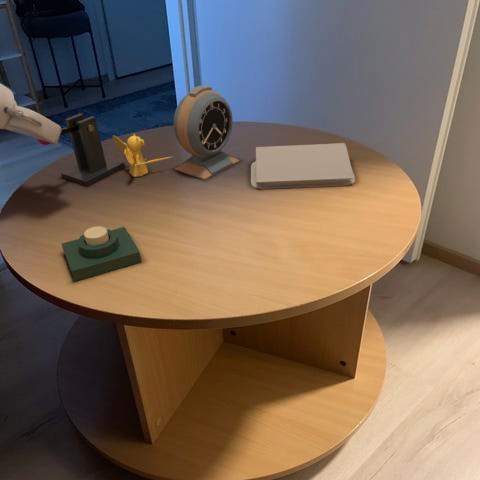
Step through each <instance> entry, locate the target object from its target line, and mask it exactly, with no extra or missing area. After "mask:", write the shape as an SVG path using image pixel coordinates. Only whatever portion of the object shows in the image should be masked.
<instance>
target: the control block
mask: <svg viewBox="0 0 480 480" xmlns="http://www.w3.org/2000/svg"><path fill="white" fill-rule="evenodd" d="M106 229H107V232H108V236H109V241H108V242H106V243H105V244H102V245H98V246H89V245H87V243H86V240H85V236H84V233H83V234H82V235H80V236H79V238H77V239H73V240H69V241H66V242H61V247H62V250H63V254H64V256H65V258H66V261H67V264H68V266H69V269H70V272H71V274H72V277H73V280H74V282H78V281H80V280H84V279H88V278H92V277H94V276H98V275H102V274H104V273H108V272H111V271H115V270H118V269H122V268H125V267H129V266H132V265H135V264H139V263H142V261H143V260H142V256H141V253H140V250H139V248H138V247H137V245H136V243H135V241H134V240H133V238H132V236H131V235H130V233H129V231H128V230H127V228H126V226H123V227H118V228H114V229H110V228H106Z"/></svg>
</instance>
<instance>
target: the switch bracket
mask: <svg viewBox="0 0 480 480" xmlns="http://www.w3.org/2000/svg"><path fill="white" fill-rule="evenodd" d="M80 119H84V120H82V121H79V122H77V124H78V128H79V132H80V133H77V132H75V131H74V132H70V133H68V134H69V137H70V141H71V145H72V148H73V153H74V156H75V160H76V165H75V166H73V167H71V168H68V169H67V170H64V171H61V172H60V175H61V178H62V179H65V180H67V181H70V182H74V183H76V184H79V185H82V186H84V187H89V186H91V185H93V184H95V183H97V182H99V181H101V180H103V179H104V178H106V177H109V176H110V175H112V174H114V173H117V172H118V171H120V170H122V169H124V168H126V164H125V162H124V161H121V160H118V159H114V158H111V157H107V156H105V154H104V149H103V145H102V140H101V137H100V132H99V129H98V128H99V126H98V123H97V119H96V116H93V115H92V116H91V115H90V116H89V117H87V118H85V115H84V113H81V112H79V113H77V114H75V115H73V116H70V117H68V118H65V124H66V127H69V126H73V125H74V122H73V121H76V120H80Z"/></svg>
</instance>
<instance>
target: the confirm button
mask: <svg viewBox="0 0 480 480" xmlns="http://www.w3.org/2000/svg"><path fill="white" fill-rule="evenodd" d="M107 229H108V228H106V227H104V226H93V227H89V228H88V229H86V230H85V231H84V233H83V234H84V236H85V240H86V243H87V245H89V246H98V245H102V244H105V243H106V242H108V241H109V236H108V232H107Z"/></svg>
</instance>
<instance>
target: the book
mask: <svg viewBox="0 0 480 480" xmlns="http://www.w3.org/2000/svg"><path fill="white" fill-rule="evenodd" d="M353 170H354V169H353V168H352V164H351V161H350V156H349V152H348V149H347V145H346V143H345V142H340V143H339V142H337V143H317V144H315V143H314V144H295V145H293V144H292V145H274V146H273V145H271V146H256V147H255V161H252V163H251V165H250V185H251V186H252V187H253V188H255V189H258V190H272V189H294V188H295V189H297V188H299V189H300V188H318V187H319V188H320V187H341V186H342V187H344V186H345V187H346V186H351V185H352V184H354V183H356V177H355V176H356V175H355V174H354V171H353Z"/></svg>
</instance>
